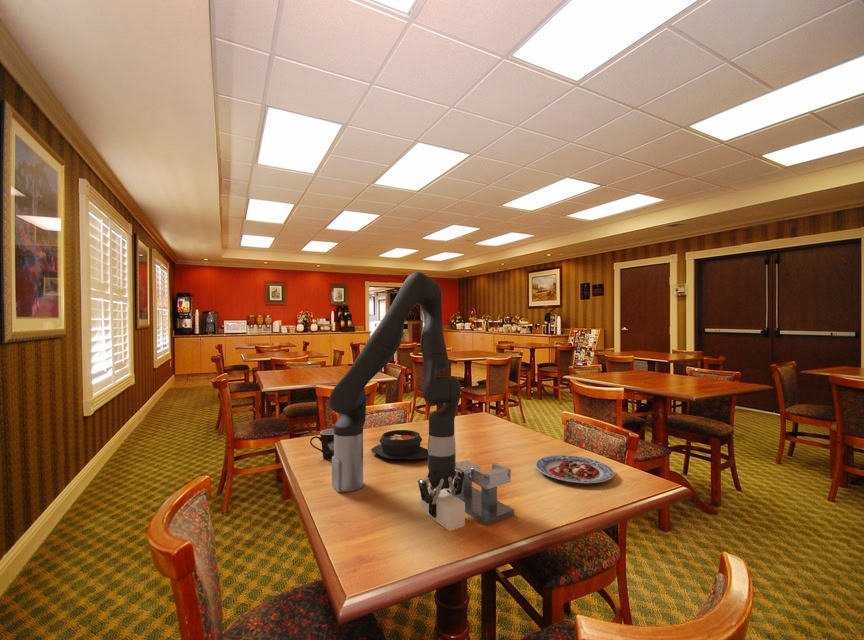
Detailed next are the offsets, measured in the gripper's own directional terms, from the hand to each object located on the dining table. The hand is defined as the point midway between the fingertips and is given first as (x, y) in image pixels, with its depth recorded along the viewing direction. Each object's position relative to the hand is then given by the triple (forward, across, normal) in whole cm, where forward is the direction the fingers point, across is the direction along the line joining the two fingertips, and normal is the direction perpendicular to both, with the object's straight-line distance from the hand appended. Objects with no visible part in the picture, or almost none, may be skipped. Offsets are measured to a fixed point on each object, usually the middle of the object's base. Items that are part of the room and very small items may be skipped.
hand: (441, 513), depth 106 cm
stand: (+1, -12, 0) cm, 12 cm away
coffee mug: (+1, +11, -64) cm, 65 cm away
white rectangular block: (+1, 0, 0) cm, 1 cm away
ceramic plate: (+1, -56, -1) cm, 56 cm away
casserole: (+1, -14, -50) cm, 52 cm away
